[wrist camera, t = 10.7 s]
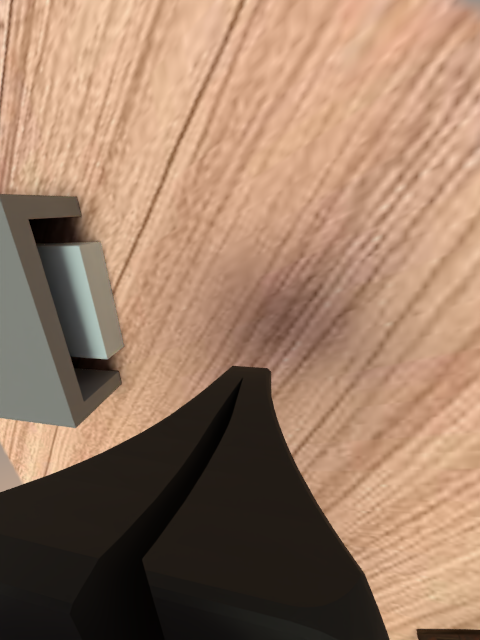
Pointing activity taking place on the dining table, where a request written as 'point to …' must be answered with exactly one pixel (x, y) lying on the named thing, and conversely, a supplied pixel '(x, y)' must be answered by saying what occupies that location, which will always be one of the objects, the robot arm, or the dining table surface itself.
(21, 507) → the robot arm
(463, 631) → the coffee grinder
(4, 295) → the overhang shelf
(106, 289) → the pale blue thin plate
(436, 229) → the dining table surface
